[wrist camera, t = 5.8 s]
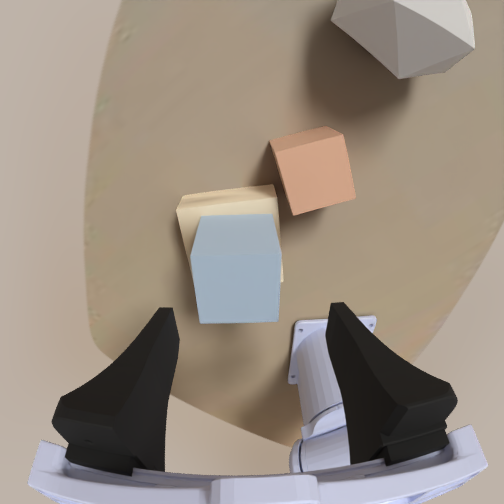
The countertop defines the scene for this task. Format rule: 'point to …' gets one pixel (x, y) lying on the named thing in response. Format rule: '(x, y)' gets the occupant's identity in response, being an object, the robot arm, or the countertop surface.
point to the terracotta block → (313, 169)
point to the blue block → (237, 269)
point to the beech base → (225, 210)
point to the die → (409, 32)
